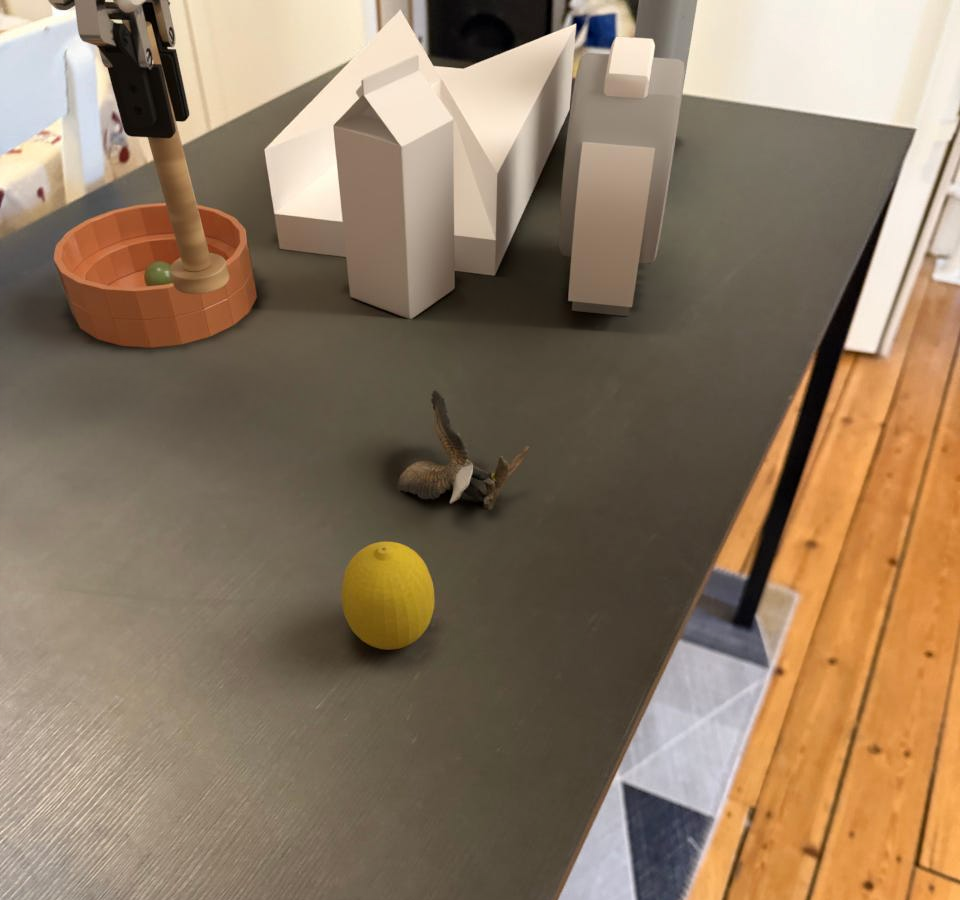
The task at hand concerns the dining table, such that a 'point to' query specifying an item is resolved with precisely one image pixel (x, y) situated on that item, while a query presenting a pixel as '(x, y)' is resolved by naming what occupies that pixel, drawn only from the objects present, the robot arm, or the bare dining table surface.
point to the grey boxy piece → (617, 170)
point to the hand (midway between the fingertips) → (157, 124)
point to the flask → (667, 27)
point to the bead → (158, 274)
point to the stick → (184, 212)
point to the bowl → (121, 287)
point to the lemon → (387, 595)
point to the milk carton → (397, 191)
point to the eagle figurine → (455, 467)
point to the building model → (476, 142)
